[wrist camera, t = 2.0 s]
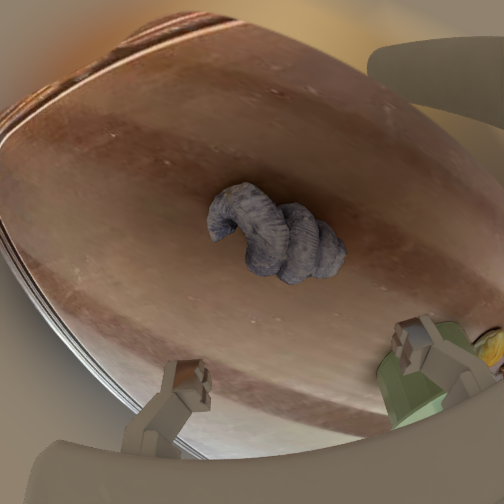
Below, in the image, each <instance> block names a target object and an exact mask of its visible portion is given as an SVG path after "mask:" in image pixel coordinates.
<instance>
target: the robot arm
mask: <svg viewBox="0 0 504 504" xmlns="http://www.w3.org/2000/svg"><path fill="white" fill-rule="evenodd" d="M394 330H395V332H396V333H395V334H394V335H393V336H392V341H391V342H392V349H393V352H394V355H395V356H396V357H398V358H399V359H400V360H399V366H400V369H401V371H402V373H403V376H404V375H407V374H411V373H414V372H417V371H420V372H422V373H423V374H424V375H425V376H427V377H428V378H429V379H430V380H432V381H433V382H434V383H435V384H437V385H438V386H439V387H440V388H442V389H443V390H444V391H446V392H447V395H446V396H445V398H444V399H443V400H442V402H441V406H442V408H443V411H441V412H438V413H436V414H434V415H431V416H429V417H427V418H424V419H422V420H419V421H416V422H414V423H411V424H408V425H406V426H403V427H400V428H397V429H394V430H391V431H388V432H385V433H382V434H379V435H375V436H372V437H368V438H365V439H361V440H357V441H354V442H350V443H345V444H341V445H337V446H332V447H327V448H323V449H317V450H312V451H306V452H300V453H293V454H286V455H278V456H269V457H258V458H245V459H220V460H198V459H196V460H195V459H181V451H180V450H179V449H178V448H177V447H175V446H174V445H173V444H172V442H173V440H174V439H175V438H176V436H177V435H178V433H179V432H180V430H181V429H182V427H183V426H184V424H185V423H186V421H187V420H188V418H189V417H190V415H191V414H192V413H191V412H205V411H210V407H211V397H210V396H209V394H208V393H209V392H210V391H211V389H212V381H211V375H210V372H209V370H208V369H206V368H205V363H204V361H203V360H202V359H193V360H174V361H167V363H166V365H165V370H164V375H163V380H162V385H161V391H160V393H156V395H155V396H154V397H153V398H152V399H151V400H150V401H149V402H148V403H147V405H146V406H145V407H144V408H143V409H142V410H141V411H140V412H139V413H138V414H137V415H136V417H135V418H134V419H133V420H132V421H131V422H130V423H129V424H128V425H127V426H126V428H125V433H124V438H123V443H122V448H121V453H119V452H114V451H108V450H102V449H98V448H93V447H88V446H84V445H79V444H76V443H72V442H68V441H64V440H56V441H55V442H53V443H52V444H51V445H49V446H48V447H47V448H46V449H45V450H44V451H43V452H42V453H40V454H39V455H38V457H37V458H36V460H35V462H34V464H33V467H32V469H31V473H30V476H29V480H28V484H27V488H26V493H25V498H24V503H23V504H504V378H503V379H502V380H500V381H498V382H497V383H496V381H495V379H494V377H493V375H492V373H491V372H490V370H489V368H488V366H487V364H486V363H485V361H483V360H482V359H480V358H478V357H476V356H475V355H473V354H471V353H469V352H468V351H466V350H464V349H462V348H461V347H459V346H457V345H455V344H453V343H452V342H450V341H448V340H443V338H442V336H441V335H440V333H439V331H438V330H437V328H436V326H435V325H434V323H433V321H432V320H431V318H430V317H429V315H427V314H425V315H422V316H419V317H415V318H411V319H408V320H405V321H402V322H398V323H396V325H395V328H394Z"/></svg>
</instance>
